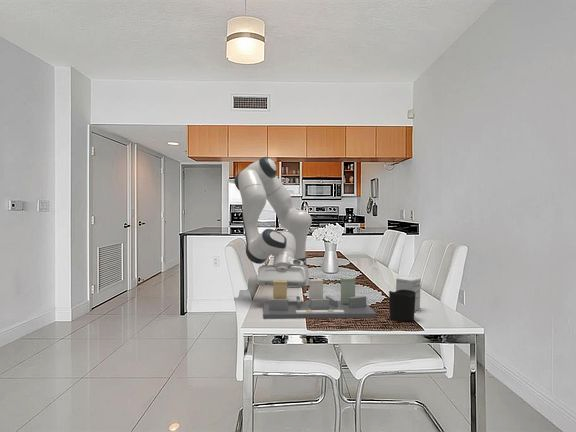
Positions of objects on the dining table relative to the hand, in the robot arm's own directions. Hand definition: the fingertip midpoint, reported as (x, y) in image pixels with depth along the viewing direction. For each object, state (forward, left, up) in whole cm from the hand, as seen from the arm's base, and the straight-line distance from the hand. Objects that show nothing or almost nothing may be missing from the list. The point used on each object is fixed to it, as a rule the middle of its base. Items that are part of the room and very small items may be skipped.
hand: (280, 293), depth 172 cm
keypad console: (+2, +15, -6) cm, 16 cm away
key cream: (-1, +14, -5) cm, 15 cm away
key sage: (-4, +28, -5) cm, 29 cm away
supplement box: (+1, +52, -7) cm, 52 cm away
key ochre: (+2, 0, -5) cm, 5 cm away
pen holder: (+15, +45, -7) cm, 47 cm away
